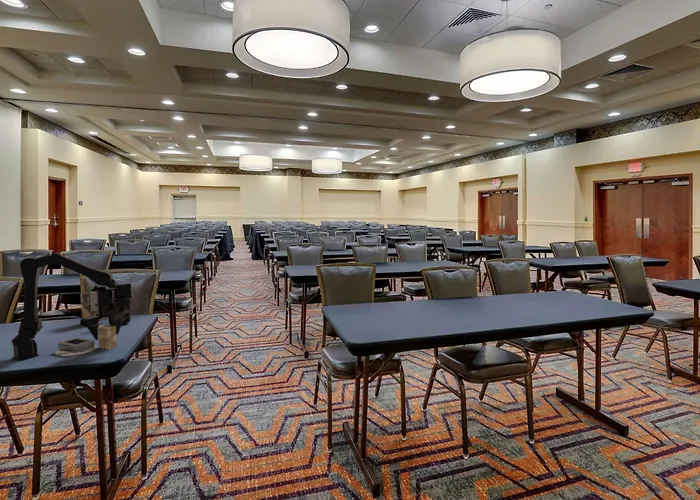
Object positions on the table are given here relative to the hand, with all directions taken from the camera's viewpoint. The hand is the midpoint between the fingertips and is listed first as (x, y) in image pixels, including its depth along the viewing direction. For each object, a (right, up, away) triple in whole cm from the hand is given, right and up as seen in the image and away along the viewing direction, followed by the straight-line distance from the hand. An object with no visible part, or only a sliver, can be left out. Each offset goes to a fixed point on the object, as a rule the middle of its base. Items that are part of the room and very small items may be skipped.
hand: (107, 337), depth 173 cm
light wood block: (0, -4, 0) cm, 4 cm away
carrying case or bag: (-14, -2, +36) cm, 38 cm away
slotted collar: (-10, -5, -4) cm, 12 cm away
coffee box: (-31, -1, +40) cm, 50 cm away
